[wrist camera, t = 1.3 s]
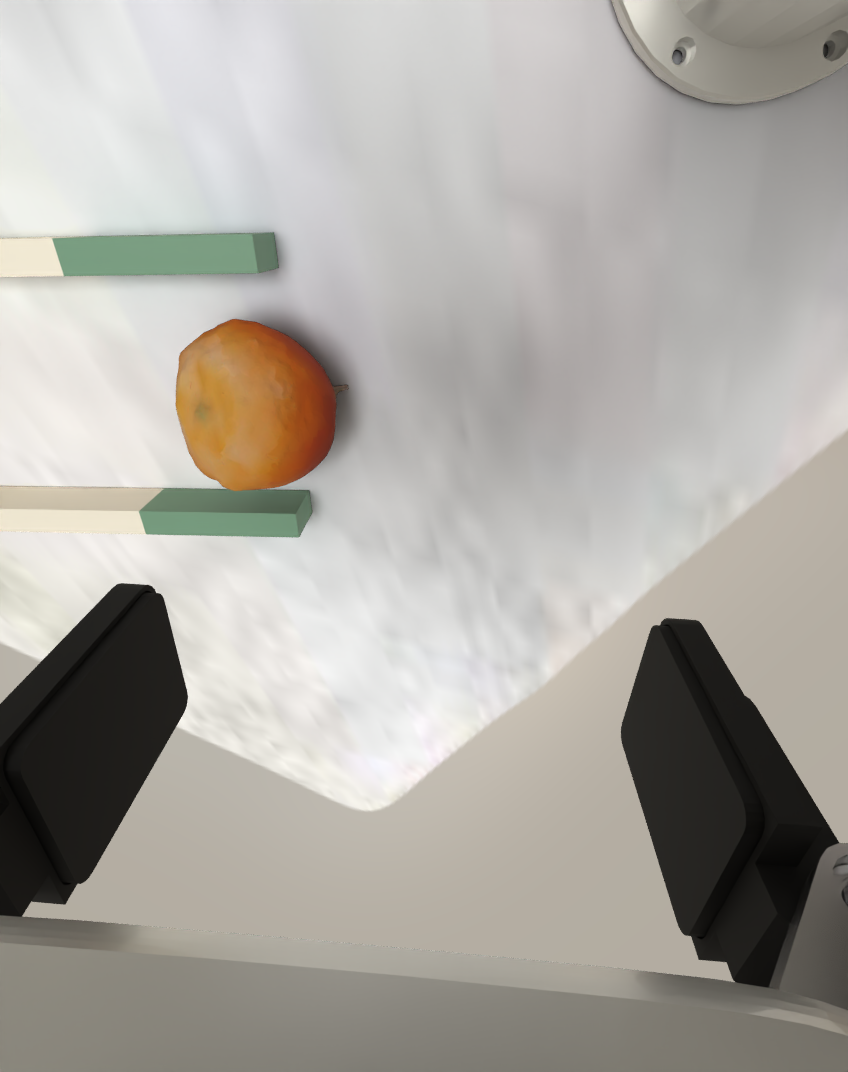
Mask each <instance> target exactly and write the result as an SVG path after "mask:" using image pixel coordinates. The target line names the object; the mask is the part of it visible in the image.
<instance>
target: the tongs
mask: <svg viewBox="0 0 848 1072" xmlns="http://www.w3.org/2000/svg"><path fill="white" fill-rule="evenodd" d="M276 268H279V267H278V260H277V253H276V245H275V238H274V233H229V234H179V235H128V236H78V237H27V238H0V277H32V276H101V275H170V274H238V273H261V272H265V271H268V270H272V269H276ZM311 514H312V508H311V500H310V493H309V490H243V491H233V490H230V489H171V488H99V487H28V486H0V531H8V532H58V533H107V534H157V535H206V536H256V537H300V535H301V533H302V531H303V529H304V527H305V525H306V523H307V521H308V520H309V518H310V516H311Z"/></svg>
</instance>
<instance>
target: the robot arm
mask: <svg viewBox="0 0 848 1072" xmlns="http://www.w3.org/2000/svg"><path fill="white" fill-rule="evenodd" d="M612 3H613V6H614V9H615V12H616V15H617V18H618V21H619V24H620V26H621V28H622V29H623V31H624V33H625V35H626V36H627V38H628V40H629V42H630V44H631V45H632V47H633V49H634V51H635V53H636V54H637V55H638V56H639V57H640V58H641V59H642V61H643V62H644V63H645V64H646V65H647V66H648V67H649V68H650V69H651V71H652V72H653V73H654V74H655V75H656V76H657V77H659V78H660V79H661V80H663V81H664V82H666V83H667V84H669V85H670V86H672V87H673V88H675V89H676V90H678V91H679V92H681V93H683V94H686V95H689V96H692V97H695V98H698V99H701V100H704V101H706V102H713V103H724V104H736V105H739V104H746V103H753V102H759V101H766V100H771V99H774V98H776V97H779V96H782V95H786V94H789V93H792V92H795V91H797V90H799V89H802V88H804V87H806V86H808V85H810V84H812V83H814V82H817V81H819V80H821V79H823V78H825V77H827V76H829V75H831V74H833V73H834V72H836V71H837V70H839V69H840V68H841V67H843V66H844V65H846V64H847V63H848V0H612ZM824 44H827V46H828V47H829V52H828V54H827V56H826V58H825V57H824V55H823V46H824ZM674 50H680V51H681V52H682V56H683V59H682V61H681V63H680V64H679V65H676V64H674V62H673V61H672V54H673V52H674ZM187 700H188V695H187V689H186V685H185V681H184V677H183V673H182V669H181V665H180V661H179V657H178V653H177V649H176V645H175V641H174V637H173V633H172V629H171V625H170V621H169V617H168V613H167V609H166V605H165V602H164V598H163V596H162V595H161V594H159V593H156V592H155V589H154V588H153V587H152V586H150V585H139V584H124V583H121V584H117V585H116V586H114V587H113V588H112V589H111V590H110V591H109V592H108V593H107V594H106V595H105V596H104V597H103V598H102V600H101V601H100V602H99V603H98V604H97V605H96V606H95V607H94V608H93V609H92V610H91V611H90V612H89V613H88V614H87V615H86V616H85V617H84V618H83V619H82V620H81V621H80V622H79V623H78V624H77V625H76V626H75V627H74V628H73V629H72V630H71V632H70V633H69V634H68V635H67V636H66V637H65V638H64V639H63V640H62V641H61V642H60V643H59V644H58V645H57V646H56V647H55V648H54V649H53V650H52V651H51V652H50V653H49V654H48V655H47V656H46V657H45V658H44V659H43V660H42V661H41V662H40V664H39V665H38V666H37V667H36V668H35V669H34V670H33V671H32V672H31V673H30V674H29V675H28V676H27V677H26V678H25V679H24V680H23V681H22V682H21V683H20V684H19V685H18V686H17V687H16V688H15V689H14V690H13V691H12V693H10V694H9V695H8V697H7V698H6V699H5V700H4V701H3V702H2V703H1V704H0V1072H848V843H839V842H838V840H837V838H836V837H835V835H834V833H833V832H832V831H831V829H830V827H829V825H828V824H827V822H826V820H825V819H824V817H823V816H822V814H821V812H820V811H819V809H818V807H817V806H816V804H815V802H814V801H813V799H812V797H811V796H810V794H809V793H808V791H807V789H806V788H805V786H804V784H803V783H802V781H801V779H800V778H799V776H798V775H797V773H796V771H795V770H794V768H793V766H792V765H791V763H790V762H789V760H788V758H787V757H786V755H785V753H784V752H783V750H782V748H781V747H780V745H779V743H778V742H777V740H776V738H775V737H774V735H773V734H772V732H771V731H770V729H769V727H768V726H767V724H766V722H765V720H764V719H763V717H762V716H761V714H760V712H759V711H758V709H757V707H756V706H755V705H754V703H753V702H752V701H751V700H750V699H749V698H747V697H746V696H744V694H743V692H742V690H741V689H740V687H739V685H738V684H737V682H736V680H735V679H734V677H733V675H732V674H731V672H730V670H729V669H728V667H727V665H726V664H725V662H724V661H723V659H722V657H721V655H720V654H719V652H718V651H717V649H716V647H715V645H714V644H713V642H712V640H711V639H710V637H709V635H708V634H707V632H706V630H705V629H704V627H703V626H702V624H701V623H700V622H699V621H696V620H686V619H670V618H666V619H664V620H663V621H662V622H661V625H660V626H658V625H655V626H653V627H652V628H651V631H650V634H649V637H648V640H647V643H646V647H645V650H644V653H643V657H642V660H641V663H640V667H639V670H638V673H637V676H636V679H635V683H634V686H633V689H632V693H631V696H630V699H629V702H628V706H627V709H626V712H625V716H624V719H623V722H622V727H621V739H622V744H623V748H624V751H625V754H626V758H627V761H628V764H629V767H630V771H631V774H632V777H633V780H634V784H635V787H636V790H637V793H638V797H639V800H640V803H641V806H642V809H643V813H644V816H645V819H646V823H647V826H648V829H649V832H650V836H651V839H652V842H653V845H654V849H655V852H656V855H657V858H658V862H659V865H660V868H661V871H662V875H663V878H664V881H665V884H666V888H667V891H668V894H669V897H670V901H671V904H672V907H673V910H674V914H675V917H676V920H677V923H678V926H679V928H680V930H681V932H682V933H683V934H684V935H688V936H691V937H692V940H693V943H694V946H695V949H696V952H697V955H698V959H699V960H708V961H720V962H727V964H728V967H729V970H730V972H731V976H732V978H733V980H734V981H735V982H736V983H735V982H729V981H723V980H717V979H709V978H700V977H691V976H682V975H673V974H663V973H656V972H647V971H638V970H629V969H620V968H611V967H601V966H591V965H581V964H569V963H559V962H548V961H538V960H527V959H516V958H506V957H495V956H483V955H474V954H462V953H452V952H440V951H430V950H418V949H408V948H397V947H396V948H395V947H385V946H374V945H362V944H352V943H340V942H328V941H317V940H306V939H294V938H282V937H271V936H260V935H248V934H237V933H224V932H212V931H201V930H188V929H176V928H164V927H152V926H140V925H128V924H115V923H104V922H91V921H79V920H64V919H48V918H32V917H22V915H23V914H24V912H25V910H26V909H27V907H28V906H29V904H30V902H31V901H32V902H42V903H53V904H66V902H67V901H68V898H69V897H70V895H71V894H72V892H73V890H74V888H75V887H76V885H77V884H78V883H79V884H81V883H83V882H85V881H86V880H87V879H88V878H89V876H90V875H91V874H92V872H93V870H94V868H95V867H96V865H97V863H98V862H99V860H100V858H101V856H102V855H103V853H104V851H105V849H106V848H107V846H108V844H109V842H110V841H111V839H112V837H113V836H114V834H115V832H116V830H117V829H118V827H119V825H120V823H121V822H122V820H123V818H124V816H125V815H126V813H127V811H128V809H129V808H130V806H131V804H132V802H133V801H134V799H135V797H136V795H137V793H138V792H139V790H140V788H141V787H142V785H143V783H144V781H145V780H146V778H147V776H148V775H149V773H150V771H151V769H152V767H153V766H154V764H155V762H156V761H157V758H158V757H159V755H160V754H161V752H162V750H163V748H164V747H165V745H166V743H167V741H168V740H169V738H170V736H171V734H172V733H173V731H174V729H175V727H176V726H177V724H178V722H179V720H180V719H181V717H182V715H183V713H184V711H185V709H186V706H187Z"/></svg>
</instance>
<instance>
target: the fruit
mask: <svg viewBox="0 0 848 1072" xmlns="http://www.w3.org/2000/svg"><path fill="white" fill-rule="evenodd" d="M347 387H348V385H344V386H342V385H341V386H334V387H333V386H332V384H331V382H330V379H329V378H328V376H327V374H326V372H325V370H324V369H323V367H322V366H321V365H320V364H319V363H318V362H317V361H316V359H315V358H314V357H313V356H312V355H311V354H310V353H309V352H308V351H307V350H306V349H305V348H303V347H302V346H301V345H300V344H298V343H297V342H296V341H294V340H293V339H292V338H290V337H289V336H287V335H285V334H283V333H281V332H279V331H277V330H274V329H271V328H269V327H266V326H264V325H262V324H260V323H257V322H252V321H244V320H238V319H232V320H230V321H227V322H225V323H222V324H220V325H218V326H217V327H215V328H214V329H211V330H209V331H207V332H204V333H203V334H202V335H201V336H199V337H198V338H197V339H196V340H194V341H193V342H192V343H191V344H190V345H188V346H187V347H186V348H185V349H184V350H183V351H182V352H181V354H180V356H179V369H178V374H177V382H176V410H177V415H178V418H179V422H180V425H181V429H182V432H183V435H184V438H185V441H186V444H187V448H188V451H189V454H190V455H191V457H192V459H193V461H194V463H195V465H196V466H197V467H198V468H199V469H200V471H201V472H202V473H203V474H205V475H206V476H207V477H209V478H211V479H214V480H217V481H218V482H219V483H220V484H221V485H222V486H223V487H225V488H227V489H230V490H233V491H243V490H257V489H267V488H274V487H280V486H283V485H286V484H289V483H291V482H293V481H296V480H298V479H300V478H302V477H303V476H305V475H306V474H308V473H309V472H310V471H312V470H313V469H314V468H316V467H317V466H318V465H319V464H320V463H321V461H322V460H323V459H324V458H325V457H326V456H327V454H328V452H329V450H330V448H331V445H332V443H333V439H334V432H335V417H336V407H337V403H336V395H337V394H338V392H339V391H343V390H346V389H349V388H347Z"/></svg>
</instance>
